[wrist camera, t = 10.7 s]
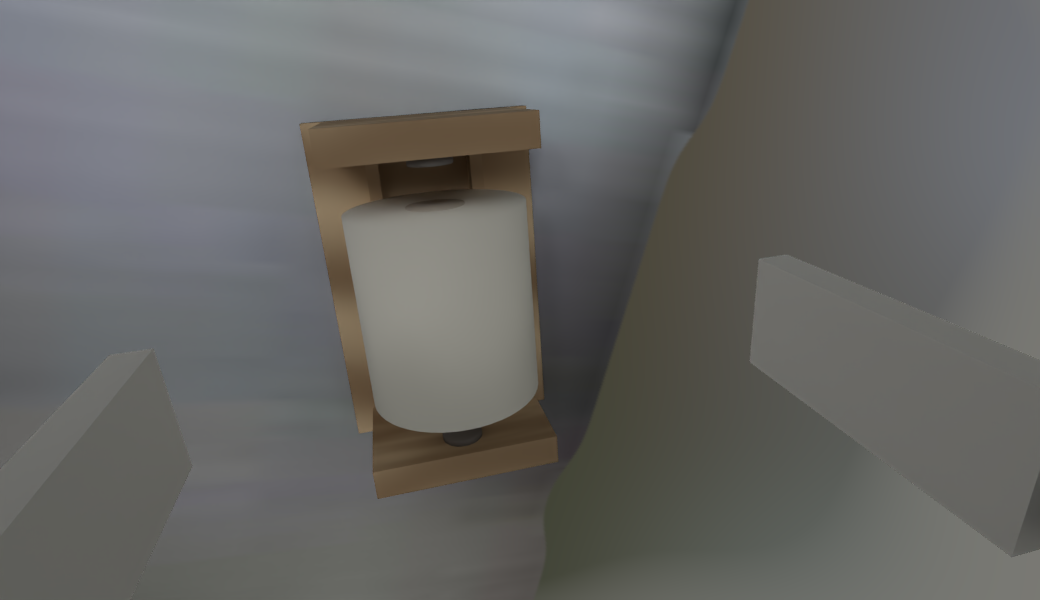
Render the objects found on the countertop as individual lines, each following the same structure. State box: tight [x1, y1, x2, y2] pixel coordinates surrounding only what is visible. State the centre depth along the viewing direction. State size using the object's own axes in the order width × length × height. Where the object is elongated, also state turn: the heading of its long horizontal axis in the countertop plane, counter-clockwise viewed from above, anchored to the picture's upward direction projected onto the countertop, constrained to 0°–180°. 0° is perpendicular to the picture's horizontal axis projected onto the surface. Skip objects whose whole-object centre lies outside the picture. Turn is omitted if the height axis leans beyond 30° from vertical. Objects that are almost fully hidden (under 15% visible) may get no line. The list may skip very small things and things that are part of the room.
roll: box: [341, 189, 538, 433], centre depth 27 cm, size 9×8×8 cm
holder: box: [300, 106, 558, 499], centre depth 29 cm, size 17×11×7 cm, turn 4°
